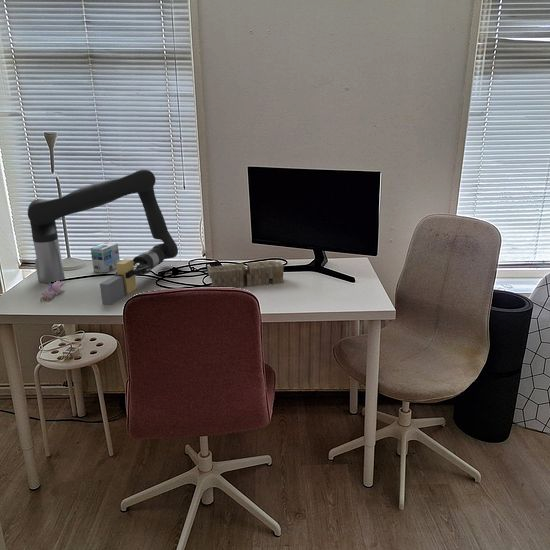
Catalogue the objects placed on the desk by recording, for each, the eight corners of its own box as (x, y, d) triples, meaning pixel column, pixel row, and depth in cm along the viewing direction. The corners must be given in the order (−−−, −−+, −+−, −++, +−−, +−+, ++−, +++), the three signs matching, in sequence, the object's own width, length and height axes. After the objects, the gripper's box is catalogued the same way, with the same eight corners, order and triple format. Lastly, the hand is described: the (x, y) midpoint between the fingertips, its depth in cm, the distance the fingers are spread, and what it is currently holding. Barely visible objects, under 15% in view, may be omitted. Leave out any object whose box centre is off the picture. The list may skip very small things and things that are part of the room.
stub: (128, 288, 194) (124, 258, 190) (136, 288, 193) (132, 259, 189) (119, 293, 188) (115, 263, 184) (127, 294, 187) (123, 264, 183)
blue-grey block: (117, 295, 187) (114, 274, 185) (126, 295, 186) (123, 274, 184) (102, 304, 179) (99, 282, 176) (111, 305, 178) (108, 283, 175)
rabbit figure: (53, 305, 182) (70, 285, 195) (49, 291, 179) (67, 272, 193) (37, 305, 183) (55, 285, 196) (33, 291, 180) (52, 272, 193)
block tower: (278, 279, 204) (207, 284, 197) (278, 260, 201) (206, 264, 194) (283, 285, 197) (210, 291, 189) (283, 265, 194) (209, 270, 187)
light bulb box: (105, 273, 212) (102, 249, 208) (93, 272, 214) (89, 248, 211) (121, 266, 221) (118, 242, 218) (108, 264, 224) (105, 241, 220)
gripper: (129, 252, 202) (104, 264, 186) (160, 254, 198) (137, 267, 182) (131, 269, 204) (106, 283, 189) (162, 272, 200) (139, 286, 185)
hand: (121, 275), depth 186 cm, fingers closed on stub, 3 cm apart
